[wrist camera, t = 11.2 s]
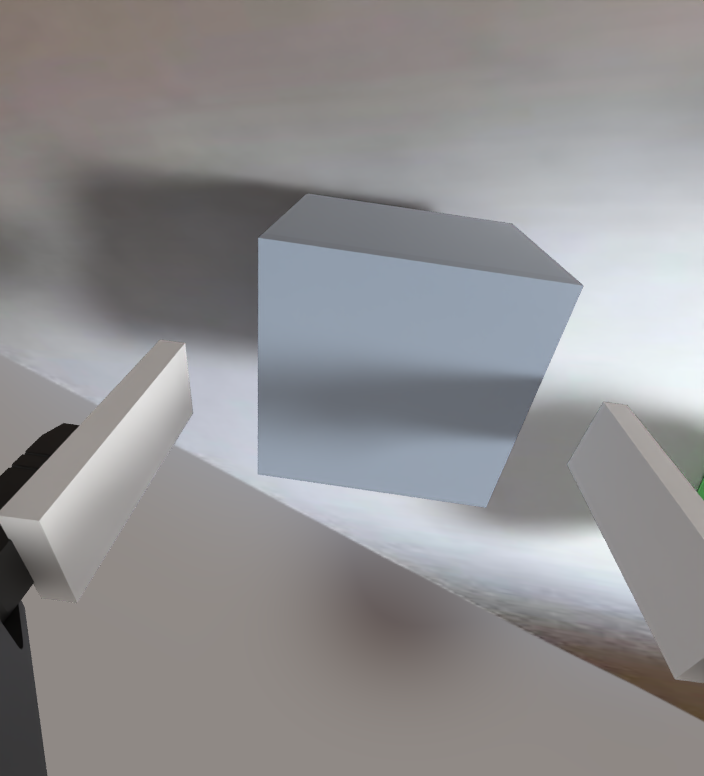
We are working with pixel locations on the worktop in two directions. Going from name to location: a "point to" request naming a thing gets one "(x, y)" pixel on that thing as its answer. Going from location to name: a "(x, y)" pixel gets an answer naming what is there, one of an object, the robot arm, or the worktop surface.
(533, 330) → the pale blue block
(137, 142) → the worktop surface
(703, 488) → the cup
